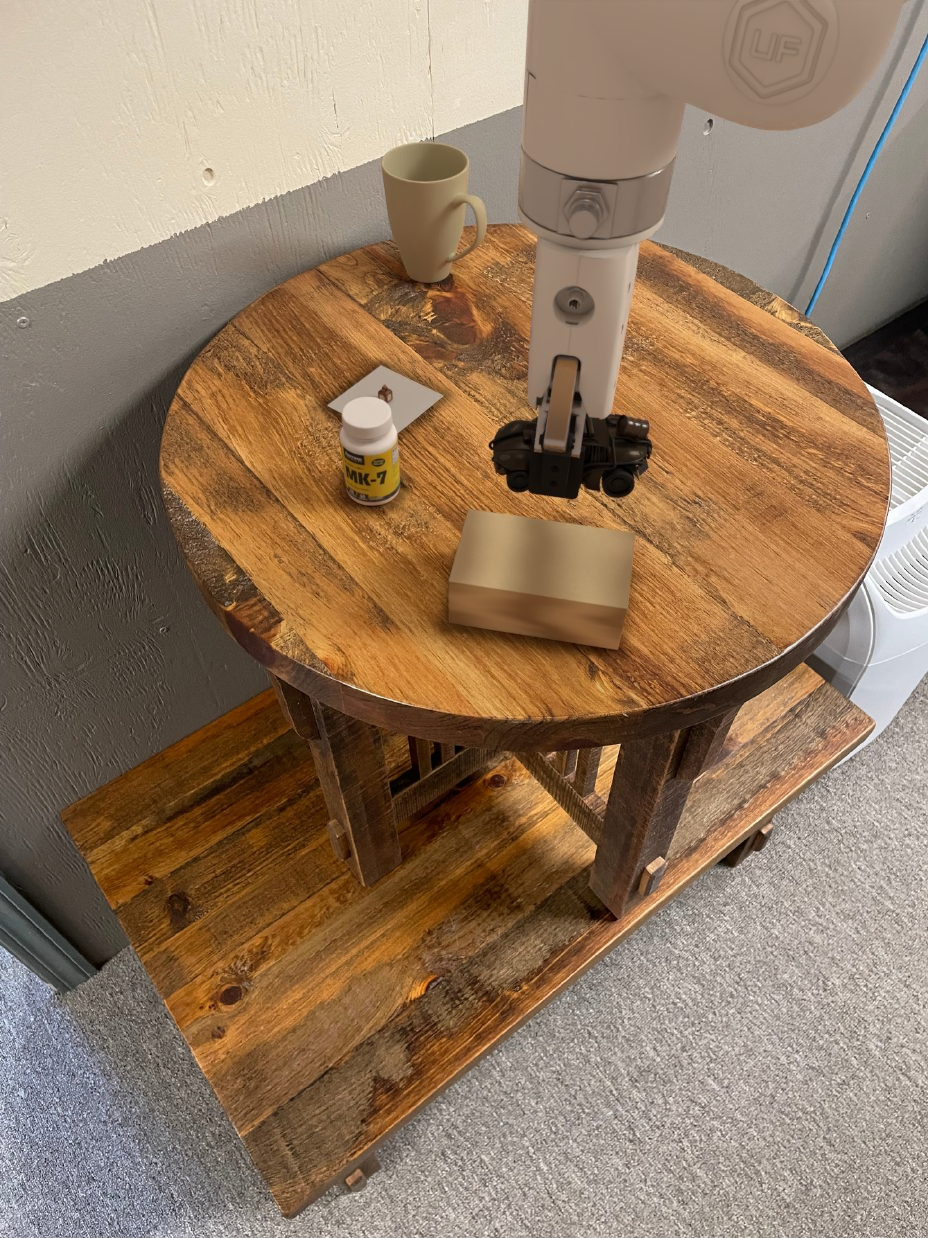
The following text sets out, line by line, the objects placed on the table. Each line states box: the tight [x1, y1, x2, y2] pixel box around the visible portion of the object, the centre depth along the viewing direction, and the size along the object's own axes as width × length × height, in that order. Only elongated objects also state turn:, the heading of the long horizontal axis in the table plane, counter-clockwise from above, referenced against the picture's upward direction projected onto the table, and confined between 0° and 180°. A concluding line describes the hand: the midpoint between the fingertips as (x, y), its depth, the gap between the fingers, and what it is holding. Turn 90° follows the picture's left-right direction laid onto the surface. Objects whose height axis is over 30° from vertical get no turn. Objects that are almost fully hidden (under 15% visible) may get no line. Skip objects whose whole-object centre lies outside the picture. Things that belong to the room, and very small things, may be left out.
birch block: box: [447, 508, 636, 651], centre depth 66 cm, size 13×8×5 cm, turn 79°
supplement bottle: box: [339, 397, 401, 506], centre depth 72 cm, size 5×5×8 cm
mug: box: [380, 141, 488, 284], centre depth 92 cm, size 11×10×12 cm
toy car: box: [469, 413, 653, 499], centre depth 56 cm, size 6×12×4 cm, turn 91°
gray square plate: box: [326, 364, 445, 435], centre depth 82 cm, size 8×8×2 cm
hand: (560, 455), depth 57 cm, fingers closed on toy car, 6 cm apart
